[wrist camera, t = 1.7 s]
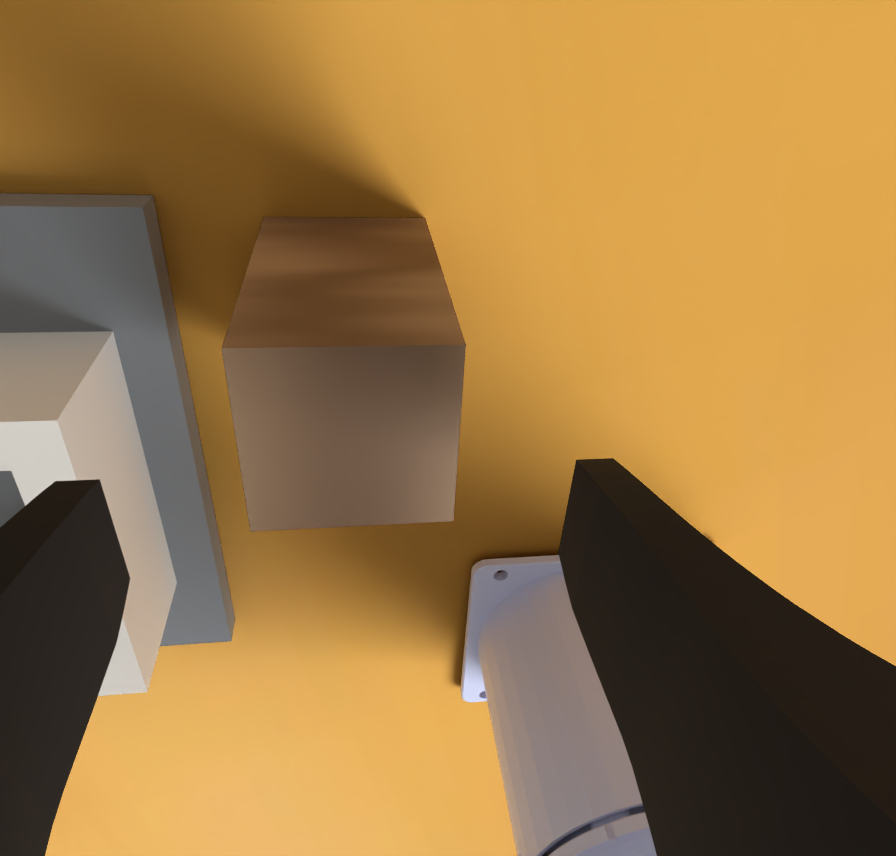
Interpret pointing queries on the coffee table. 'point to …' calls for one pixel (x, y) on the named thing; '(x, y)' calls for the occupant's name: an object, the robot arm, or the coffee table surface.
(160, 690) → the coffee table surface
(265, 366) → the walnut block
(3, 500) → the well
